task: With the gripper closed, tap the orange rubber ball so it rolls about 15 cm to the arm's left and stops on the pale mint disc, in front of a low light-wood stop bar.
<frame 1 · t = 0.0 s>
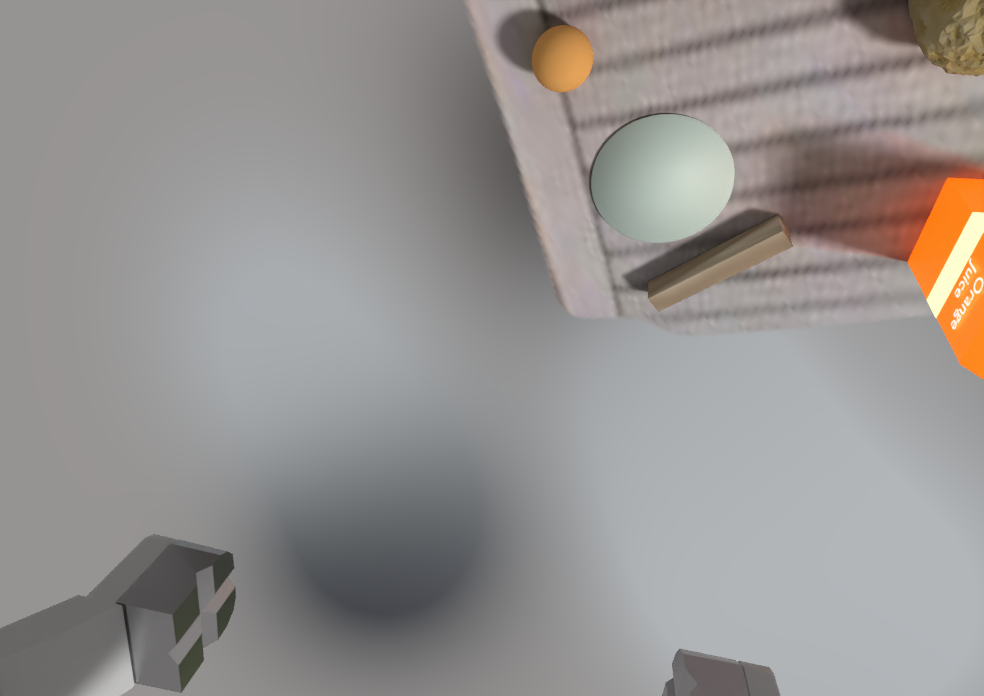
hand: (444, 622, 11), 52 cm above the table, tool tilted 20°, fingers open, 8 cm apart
stop bar: (714, 256, 64), on the table
ball: (562, 59, 52), on the table
orange juice: (970, 223, 57), on the table
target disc: (660, 182, 60), on the table
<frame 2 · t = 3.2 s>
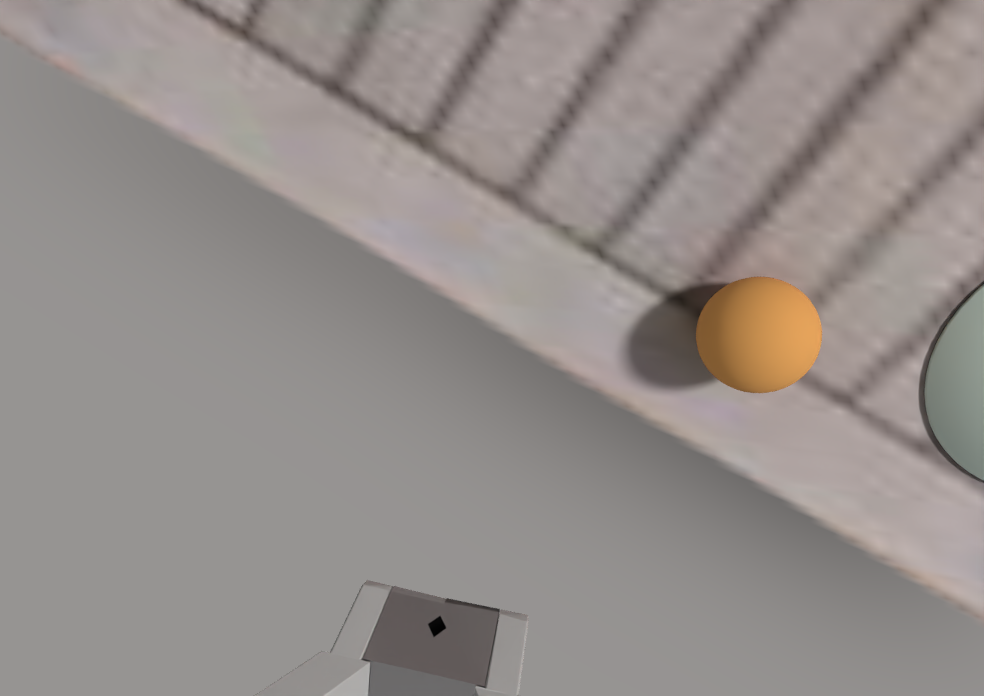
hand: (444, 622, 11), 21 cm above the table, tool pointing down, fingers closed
ball: (756, 335, 27), on the table
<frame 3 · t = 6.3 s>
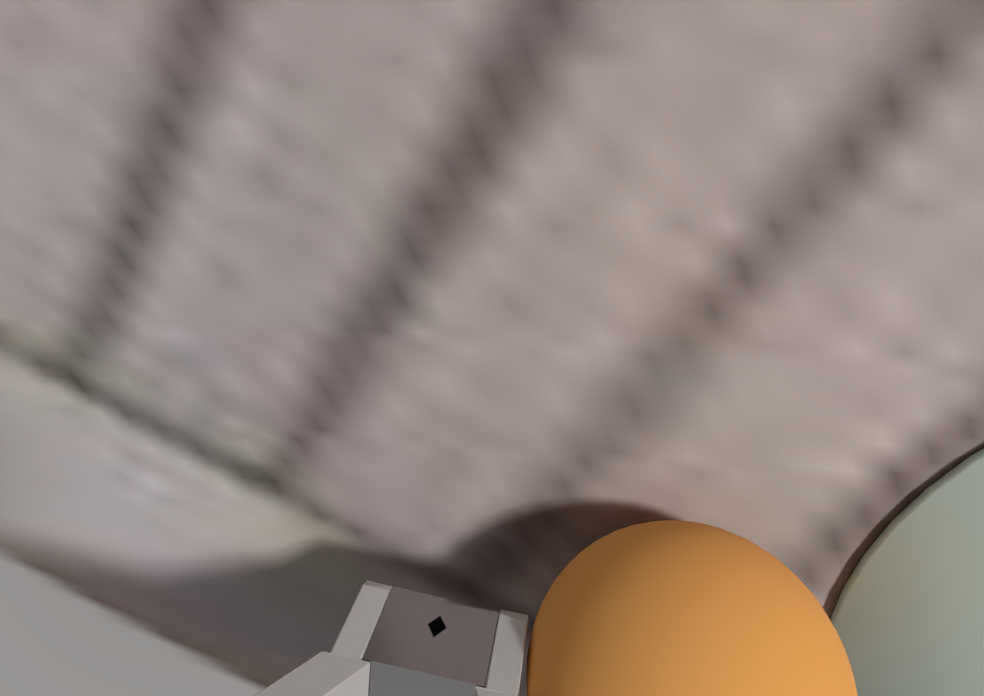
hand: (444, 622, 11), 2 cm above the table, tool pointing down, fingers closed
ball: (681, 680, 10), on the table
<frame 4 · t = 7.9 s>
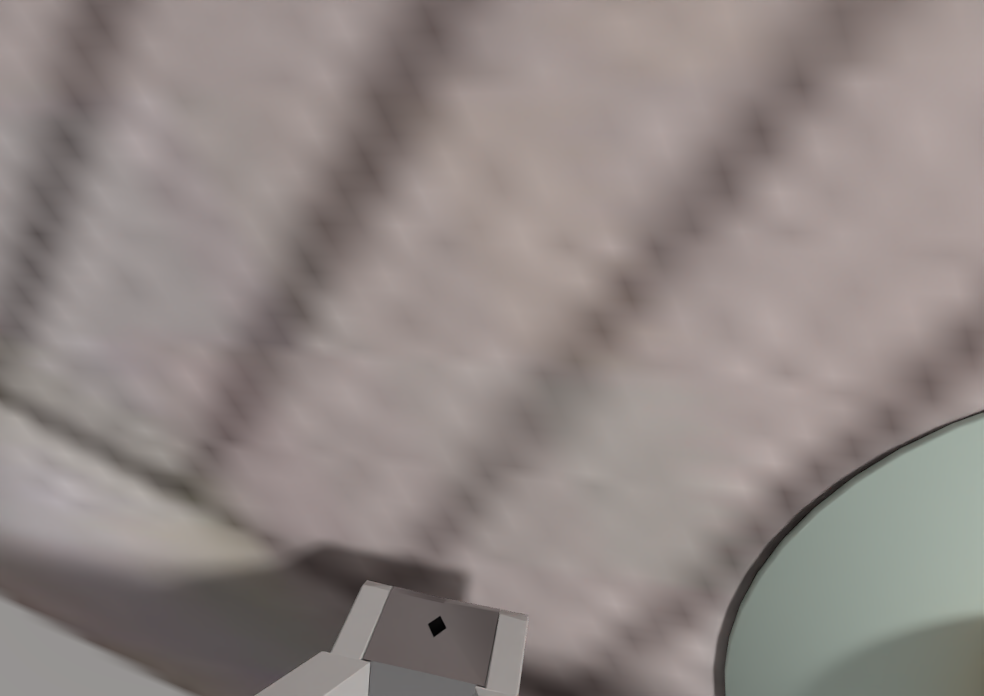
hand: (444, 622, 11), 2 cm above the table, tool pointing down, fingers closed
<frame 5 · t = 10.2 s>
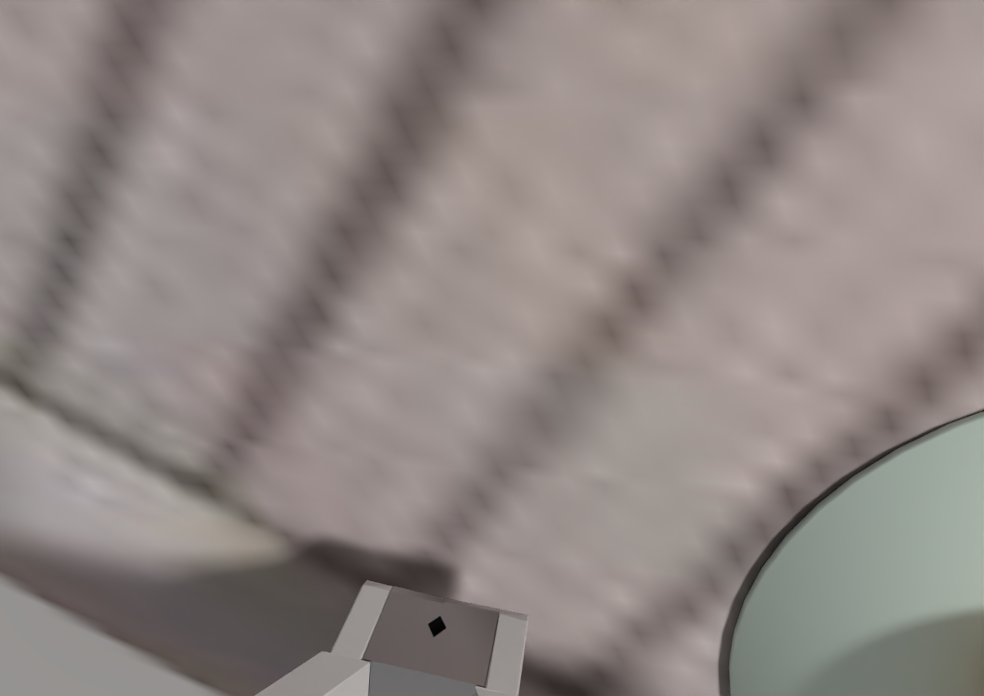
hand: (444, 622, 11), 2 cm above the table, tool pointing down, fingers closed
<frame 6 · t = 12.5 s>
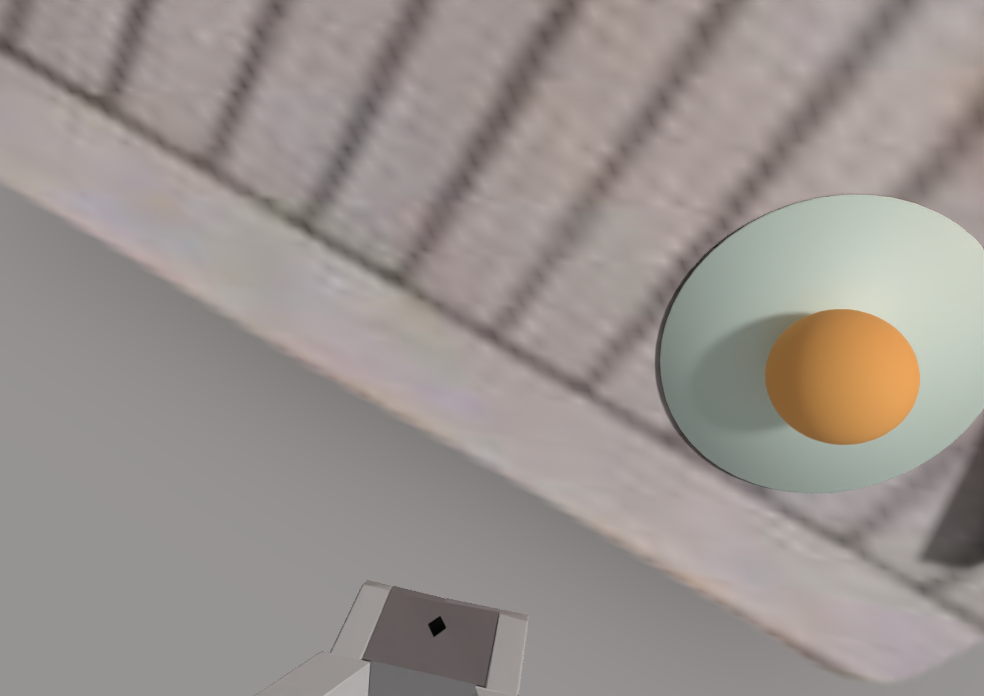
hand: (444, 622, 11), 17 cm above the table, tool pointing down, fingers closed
ball: (838, 376, 23), resting on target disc
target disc: (824, 356, 26), on the table
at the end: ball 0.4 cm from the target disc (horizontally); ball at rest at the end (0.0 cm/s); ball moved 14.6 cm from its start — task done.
